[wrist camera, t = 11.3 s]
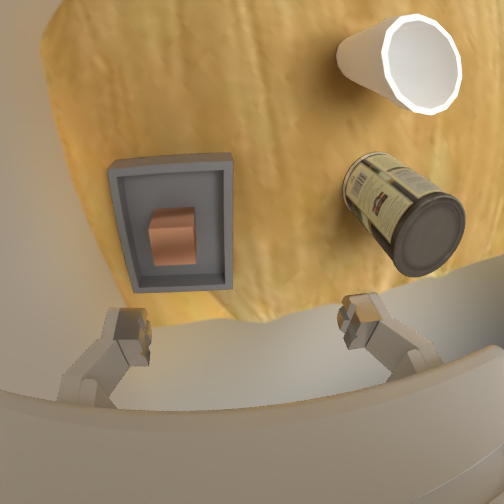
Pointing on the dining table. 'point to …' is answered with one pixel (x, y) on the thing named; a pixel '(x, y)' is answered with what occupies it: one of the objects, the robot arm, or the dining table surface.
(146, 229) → the tray
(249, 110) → the dining table surface
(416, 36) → the foam cup
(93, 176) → the dining table surface
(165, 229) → the block
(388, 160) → the coffee can
